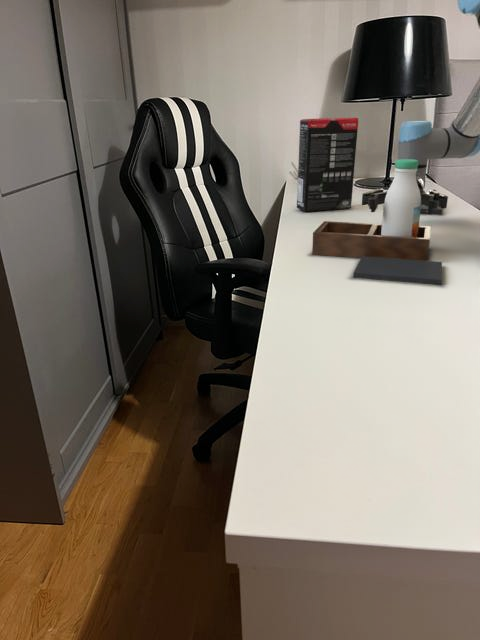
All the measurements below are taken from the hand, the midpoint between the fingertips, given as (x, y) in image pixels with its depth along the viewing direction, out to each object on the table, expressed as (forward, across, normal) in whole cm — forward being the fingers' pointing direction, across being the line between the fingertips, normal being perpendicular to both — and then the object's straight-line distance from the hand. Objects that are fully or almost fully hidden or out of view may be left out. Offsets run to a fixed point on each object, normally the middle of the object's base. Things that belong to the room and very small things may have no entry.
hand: (401, 206), depth 104 cm
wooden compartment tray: (-4, +6, -11) cm, 13 cm away
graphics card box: (-51, +26, -11) cm, 58 cm away
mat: (+10, -1, -11) cm, 15 cm away
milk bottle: (-4, 0, -11) cm, 12 cm away
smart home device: (-60, -5, -11) cm, 62 cm away
